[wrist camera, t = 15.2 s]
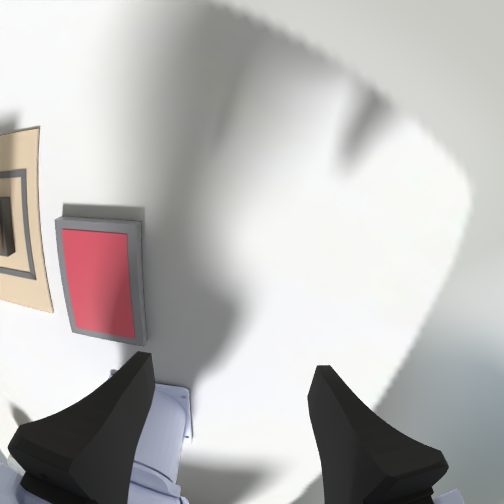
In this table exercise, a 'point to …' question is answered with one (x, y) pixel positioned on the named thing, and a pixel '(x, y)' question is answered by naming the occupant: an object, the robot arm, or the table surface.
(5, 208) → the stamp
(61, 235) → the ink pad
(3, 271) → the cardboard sheet
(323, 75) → the table surface
